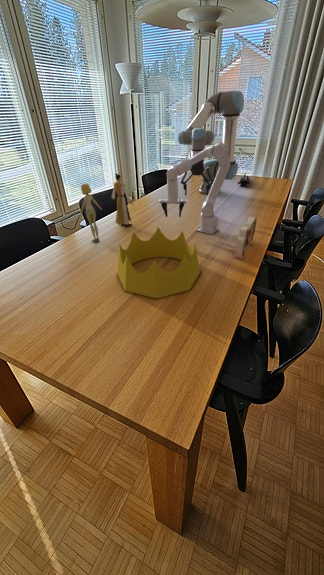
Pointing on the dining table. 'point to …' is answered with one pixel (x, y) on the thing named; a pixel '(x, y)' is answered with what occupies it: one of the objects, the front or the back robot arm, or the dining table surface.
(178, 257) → the crown
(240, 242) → the cutout
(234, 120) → the back robot arm
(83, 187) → the sculpture
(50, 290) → the dining table surface
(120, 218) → the figurine
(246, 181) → the toy
